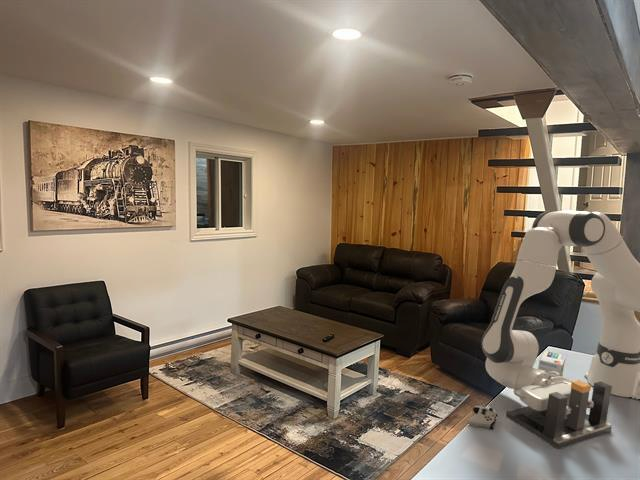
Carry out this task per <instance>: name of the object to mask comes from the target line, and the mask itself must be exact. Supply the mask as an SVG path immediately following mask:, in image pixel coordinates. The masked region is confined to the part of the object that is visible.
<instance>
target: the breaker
mask: <svg viewBox="0 0 640 480" xmlns="http://www.w3.org/2000/svg"><path fill="white" fill-rule="evenodd" d="M572 381H573V382H572V383H571V393H570V400H569V406H568V407H570V408H571V413H570V414H568V415H567V419H566V426H568V427H570V428H571V429H573V430H575V431H579V430H582V429H584V423H585V417H586V414H587V410H588V408H587V404H588V399H589V396H590V392H591V389H592V388H591V387H592V385H591V384H590V383H588V382H584V381H582V380H579V379H577V380H572Z"/></svg>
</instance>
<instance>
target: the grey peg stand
mask: <svg viewBox="0 0 640 480" xmlns="http://www.w3.org/2000/svg"><path fill="white" fill-rule="evenodd" d="M592 387H593V389H592V394H591V399H590V400H591V401H593V403H594V405H593V408H589V414H588V413H586V417H585V423H584V429H582V430H579V431H575V430H573V429H571V428H570V427H568V426H566V419H567V415H565V412H566V406H569V404H568V405H567V399H568V397H566V396H564V395H562V394H560V393H558V392H554V393H550V394H549V398H548V405H547V410H544V411H536V410H534V409H532V408H531V407H529V406H528V405H526V406H523V407H519V408H515V409H511V410H508V411H505V417H506V418H507V419H509V420H510V421H512V422H514V423H515V424H517V425H519V426H520V427H522V428H524V429H525V430H526V431H528V432H530V433H531V434H533V435H534V436H536V437H538V438H539V439H541V440H542V441H544V442H546V443H547V444H549V445H550V446H552V447H553V448H555V449H557V450H560V449H563V448H566V447H570V446H572V445H576V444H579V443H581V442H585V441H588V440H591V439H595V438H597V437H600V436H603V435H606V434H607V435H608V434H610V433H611V432H612V429H613V424H611V423H610V422H608V421H607V419H608V412H609V408H610V407H609V406H610V401H611V397H612V396H611V395H612V394H611V390H612V386H610V385H608V384H605V383H603V382H597V383H594V386H592Z"/></svg>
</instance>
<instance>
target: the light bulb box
mask: <svg viewBox="0 0 640 480" xmlns="http://www.w3.org/2000/svg"><path fill="white" fill-rule="evenodd" d="M565 362H566V355H565V354H559V353H556V352H553V351H552V352H550V351H548V350H543V352H542V355H541V357H540V359H539V362H538V366H537V367H538V368H537V369H539V370H543V371H555V372H558V373H559V374H560V376H561V377H564V376H563V374H564V368H565Z"/></svg>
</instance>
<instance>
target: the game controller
mask: <svg viewBox="0 0 640 480" xmlns="http://www.w3.org/2000/svg"><path fill="white" fill-rule="evenodd" d="M472 411H473V413H474V414H473V415H472V416H471V417H469V418H468V419H467V424H468V425H469V424H470V425H469V426H471V427H474V428H475V427H476V428H477V427H483V428H486V429H488V430H494V426H495V424H496V421H497V417H498V414H497V412H496V411H495V410H494V409H493V407H485V406H481V405H475V406H474V407H473V409H472Z"/></svg>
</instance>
